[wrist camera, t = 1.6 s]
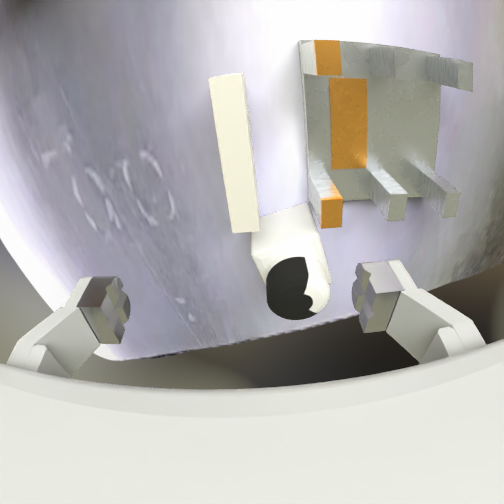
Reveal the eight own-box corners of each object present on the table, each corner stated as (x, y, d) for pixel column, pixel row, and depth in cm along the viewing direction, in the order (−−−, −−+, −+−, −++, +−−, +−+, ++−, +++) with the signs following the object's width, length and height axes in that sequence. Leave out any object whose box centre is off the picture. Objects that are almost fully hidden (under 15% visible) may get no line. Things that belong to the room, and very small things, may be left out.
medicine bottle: (269, 263, 40) (274, 335, 30) (249, 219, 36) (249, 287, 26) (321, 247, 38) (342, 316, 28) (307, 200, 34) (329, 264, 25)
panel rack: (434, 54, 23) (475, 58, 17) (426, 192, 33) (456, 222, 27) (298, 41, 24) (313, 34, 18) (307, 198, 34) (321, 233, 28)
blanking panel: (243, 72, 26) (241, 73, 19) (257, 194, 34) (259, 230, 28) (218, 75, 26) (208, 78, 20) (236, 196, 34) (232, 233, 28)
